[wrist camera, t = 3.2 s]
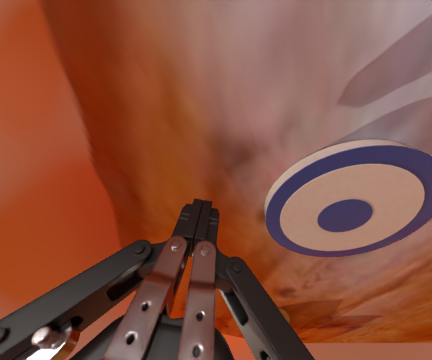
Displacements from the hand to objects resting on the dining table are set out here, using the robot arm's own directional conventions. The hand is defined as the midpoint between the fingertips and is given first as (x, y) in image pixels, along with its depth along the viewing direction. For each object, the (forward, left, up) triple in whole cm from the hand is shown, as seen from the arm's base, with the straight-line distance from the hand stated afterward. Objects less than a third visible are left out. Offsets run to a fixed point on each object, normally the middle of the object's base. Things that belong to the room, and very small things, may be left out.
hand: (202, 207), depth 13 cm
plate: (-13, 0, -3) cm, 13 cm away
